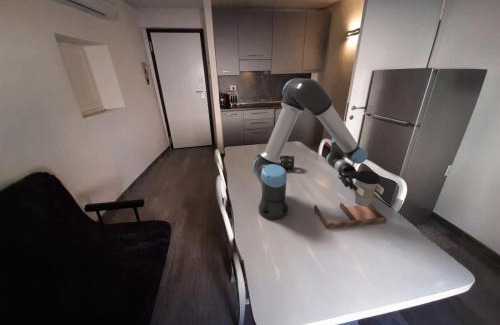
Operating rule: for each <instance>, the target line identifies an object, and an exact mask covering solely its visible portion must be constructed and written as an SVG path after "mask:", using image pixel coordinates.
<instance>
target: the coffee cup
mask: <svg viewBox="0 0 500 325" xmlns="http://www.w3.org/2000/svg"><path fill="white" fill-rule="evenodd" d="M358 172H359V173H358V174H357V175H356V179H355V180H356V181H355V183H356V184H357V185H359V186H360V187H361V188H362V189H363V190H364V194H363V196H361V195H360V194H359V193H358V192H357V191H355V190H354V191H355V192H354V194H355V195H354V202H355V204H356V205H357V206H358V205H360V206H363V207H366V206H368V205H369V203H371V201H372V198H373V197H374V194H375V191H376V190H375V189H376V187H377V184H380V182H381V178H380V177H379V176H380V175H379V174H377V173H376V172H373V171H369V170H360V171H358Z"/></svg>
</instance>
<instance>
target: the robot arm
mask: <svg viewBox="0 0 500 325" xmlns="http://www.w3.org/2000/svg"><path fill="white" fill-rule="evenodd" d="M333 104H334V102H333V100H332V98H331V96H330V95H329V93H328V92H327V91H326V90H325V88H324V87H323V85H321V84H320V83H319V81H317V80H316V79H312V78H299V77H295V78H293V79H290V80H288V81H287V82H286V83H285V85H284V86H283V89H282V100H281V103H280V105H281V107H282V108H281V110H280V113H279V116H278V117H277V118H278V119H277V120H276V123H275V126H274V127H273V130H272V133H271V135H270V137H269V139H268V142H267V145H266V147H265V150H264V151H263V152H261V153H260V157H258V158H257V159H256V160H255V161H254V162H253V163H252V164H253V167H252V169H253V173H254V175H255V176H256V177H257V178H256V179H257V180H258V182H259V183H260V185H261V198H260V201H259V204H258V212H259V215H260V216H261V217H263V218H264V219H267V220H271V221H279V220H283V219H284V218H285V217H287V216H288V214H289V211H290V210H289V208H290V207H289V204H288V202H287V198H286V193H287V192H286V191H287V180H288V178H287V171H286V169H284V168H283V167H281V166H279V165H280V163H281V160H280V156H282V153H283V151H284V148H285V147H286V144H287V142H288V140H289V137H290V135H291V133H292V131H293V129H294V126H295V124H296V122H297V119H298V117H299V115H300V114H302V113H304V111H305V109H306V110H307V111H309V112H310V113H311V115H312V116H313V117H316V118H317V119H318V120H319V122H320V123H321V124H322V126H323V127H324V128H325V130H326V131H327V133H328V134H329V135H330V136H331V144H330V152H329V154H328V155H326V157H325V158H326V163H327V164H328V165H329V166H330V167H332V168H333V170H335V171H336V172H337V173H338V175H337V177H338V179H339V180H340V181H341V183H342V184H343V186H344V187H345V188H349V190H353V191H357V192H358V193H359V194H360V195H361V196H363V194H364V190H363V189H362V188H361V187H360V186H359V185H357V184H356V182H354V181H353V180H356V175H357V174H358V173H359V172H360V171H358V170H357V169H356V168H355V166H354V165H353V164H351V163H355V164H356V165H359V164H362V163H364V162H366V161H367V158H368V156H369V155H368V154H369V153H368V151H367V150H366V149H364V148H363V147H361V146H360V145H359V144H358V143H357V141H356V139H355V138H354V135H352V133H351V132H350V131H349V129H348V128H347V127H348V126H346V123H345V122H344V121H343V120H342V118H341V117H340V115H339V113H338V112H337V111H336V109H335V108H334V105H333ZM345 158H346V159H347V160H346V159H345ZM348 160H349V161H351V163H350V162H348ZM384 190H385V188H384V187H382V186H381V185H380V183H378V184H377V187H376V189H375V191H376V192H377V193H379V194H380V195H383V194H384Z"/></svg>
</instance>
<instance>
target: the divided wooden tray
mask: <svg viewBox="0 0 500 325" xmlns="http://www.w3.org/2000/svg"><path fill="white" fill-rule="evenodd" d="M339 209H340V210H341V211H342V212H343V213H344V215H345V216H346V217H347V218H348V219H349V220H343V221H342V220H341V221H331V222H328V221H327V219H326V218H325V215H323V213H322V211H321V210H320V209H319V207H318V206H317V205H316V204H315V205H314V207H313V210H314V212H315V214H316V215H317V217H318V218H319V220H320V221H321V223H322V225H323V226H324V228H325V229H326V230H327V229H339V228H349V227H360V226H368V225H369V226H370V225H381V224H386V223H387V219H388V218H387V217H386V216H385V215H383V214H382V212H381V211H379V210H378V209H377V208H376V207H375V206H374V205H373V204H372V203H371V202H370V203H369V205H368V206H366V207H363V206H360V205H358V204H357V205H349V206H348V205H347V206H346V205H345V204H344V203H343V202H339Z"/></svg>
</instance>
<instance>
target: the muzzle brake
mask: <svg viewBox="0 0 500 325" xmlns="http://www.w3.org/2000/svg"><path fill="white" fill-rule="evenodd" d="M260 154H261V153H260ZM260 154H259V153H258V154H256V155H254V159H253V160H254V161H255V160H256V159H257V158H258V157H260ZM280 160H281V163H280V165H279V166H281V167H283V168H284V169H285V170H293V169H295V155H281V156H280Z"/></svg>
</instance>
